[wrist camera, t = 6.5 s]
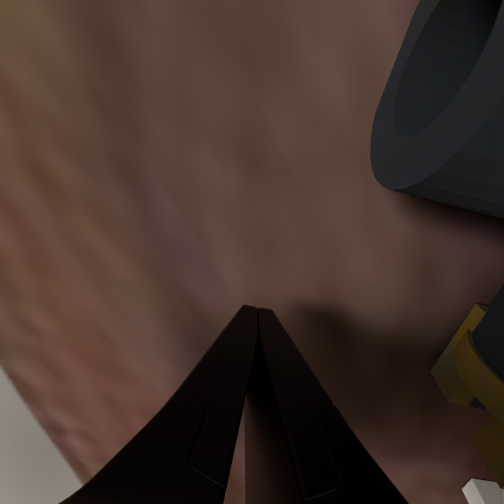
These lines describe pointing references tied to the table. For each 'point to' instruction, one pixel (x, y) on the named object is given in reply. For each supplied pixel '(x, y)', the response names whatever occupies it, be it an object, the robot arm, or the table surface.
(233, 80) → the table surface
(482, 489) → the bay
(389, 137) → the pipe connector
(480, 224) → the table surface
